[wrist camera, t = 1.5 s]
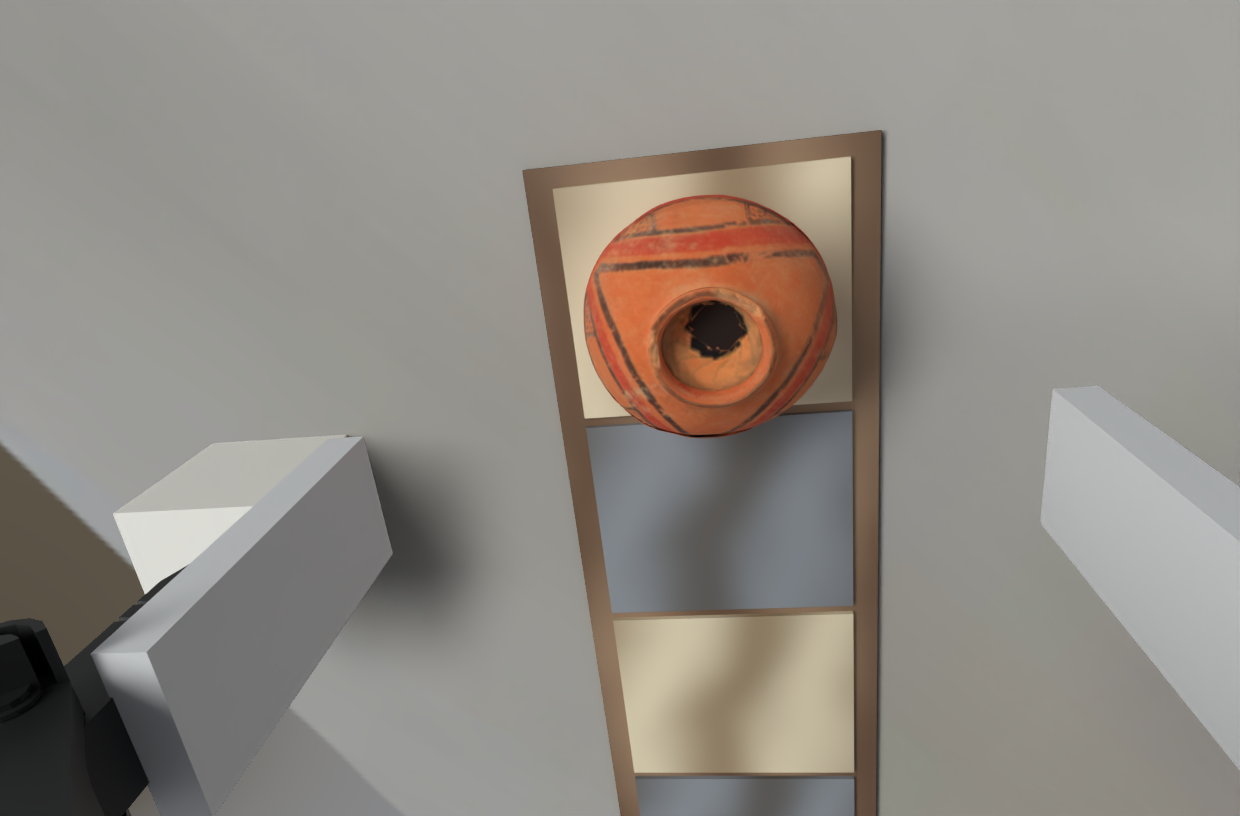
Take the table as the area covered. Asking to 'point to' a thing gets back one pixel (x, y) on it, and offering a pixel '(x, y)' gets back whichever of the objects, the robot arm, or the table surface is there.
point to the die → (204, 501)
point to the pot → (709, 316)
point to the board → (729, 509)
